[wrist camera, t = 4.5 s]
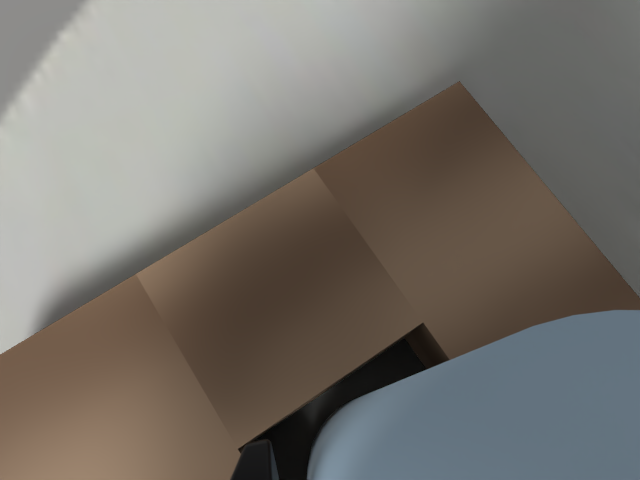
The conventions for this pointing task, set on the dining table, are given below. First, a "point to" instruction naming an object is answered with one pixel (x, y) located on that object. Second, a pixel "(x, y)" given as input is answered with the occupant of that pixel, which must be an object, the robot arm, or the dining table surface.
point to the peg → (501, 411)
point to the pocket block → (302, 303)
